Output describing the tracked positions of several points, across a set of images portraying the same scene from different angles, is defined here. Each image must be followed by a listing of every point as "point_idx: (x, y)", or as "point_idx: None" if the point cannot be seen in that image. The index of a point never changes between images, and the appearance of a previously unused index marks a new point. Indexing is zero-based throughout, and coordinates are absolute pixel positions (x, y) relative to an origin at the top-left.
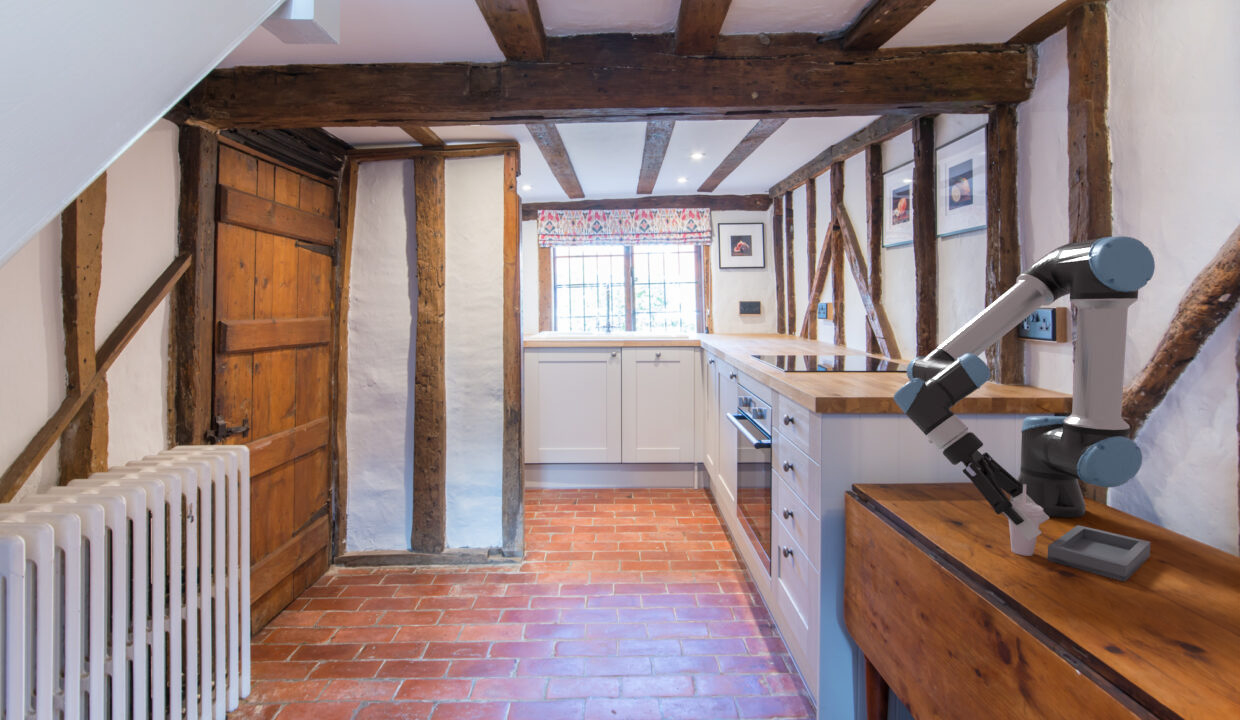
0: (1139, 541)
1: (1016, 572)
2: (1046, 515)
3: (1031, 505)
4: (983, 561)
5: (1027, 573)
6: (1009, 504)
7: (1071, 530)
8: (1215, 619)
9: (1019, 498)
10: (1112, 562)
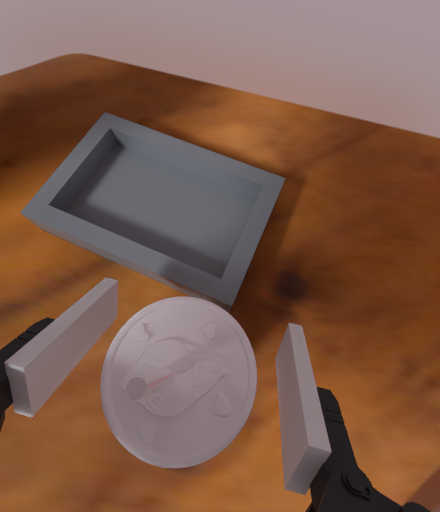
0: (109, 127)
1: (351, 393)
2: (107, 285)
3: (169, 341)
4: None
5: (341, 367)
6: (372, 488)
7: (73, 233)
8: (357, 128)
9: (40, 384)
10: (276, 195)
